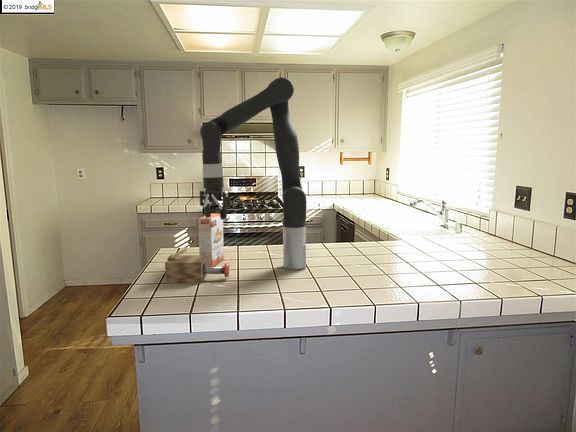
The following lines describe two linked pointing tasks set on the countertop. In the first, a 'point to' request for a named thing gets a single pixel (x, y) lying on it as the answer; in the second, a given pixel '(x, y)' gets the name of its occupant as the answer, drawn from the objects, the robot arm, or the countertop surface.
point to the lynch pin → (217, 270)
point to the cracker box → (211, 239)
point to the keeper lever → (177, 254)
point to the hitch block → (185, 269)
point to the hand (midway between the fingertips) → (215, 218)
